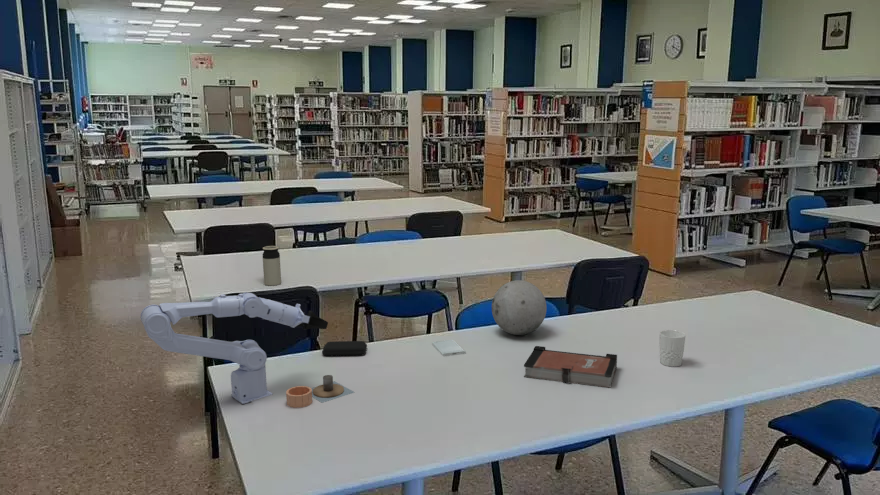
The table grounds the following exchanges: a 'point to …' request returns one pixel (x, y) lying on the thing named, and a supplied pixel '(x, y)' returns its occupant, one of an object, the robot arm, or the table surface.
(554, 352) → the book
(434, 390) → the table surface
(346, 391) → the mat
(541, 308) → the moon model
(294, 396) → the bowl
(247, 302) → the robot arm
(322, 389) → the lid
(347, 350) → the carrying case or bag
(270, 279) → the travel mug
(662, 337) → the white cup
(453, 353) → the hard drive
